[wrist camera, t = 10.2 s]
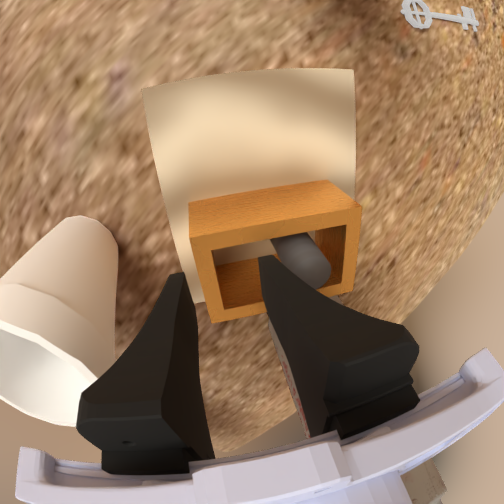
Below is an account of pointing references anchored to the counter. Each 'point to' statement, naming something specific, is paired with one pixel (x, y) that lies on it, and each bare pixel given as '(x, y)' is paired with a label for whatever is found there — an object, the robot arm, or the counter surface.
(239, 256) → the board
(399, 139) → the counter surface
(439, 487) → the thermos bottle
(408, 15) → the key
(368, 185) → the counter surface
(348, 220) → the orange wooden hollow box
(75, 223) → the foam cup
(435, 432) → the robot arm
